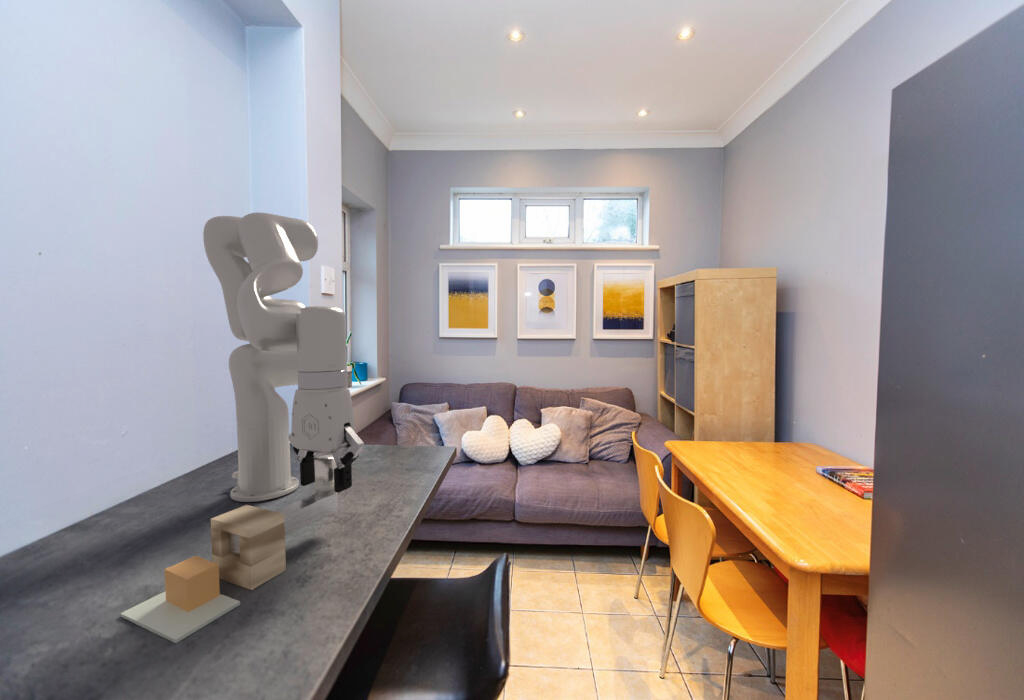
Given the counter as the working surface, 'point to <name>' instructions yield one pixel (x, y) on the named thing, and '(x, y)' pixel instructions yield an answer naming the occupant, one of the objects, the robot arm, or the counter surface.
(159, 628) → the pad
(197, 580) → the block
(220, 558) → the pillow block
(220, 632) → the counter surface
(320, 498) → the shaft
